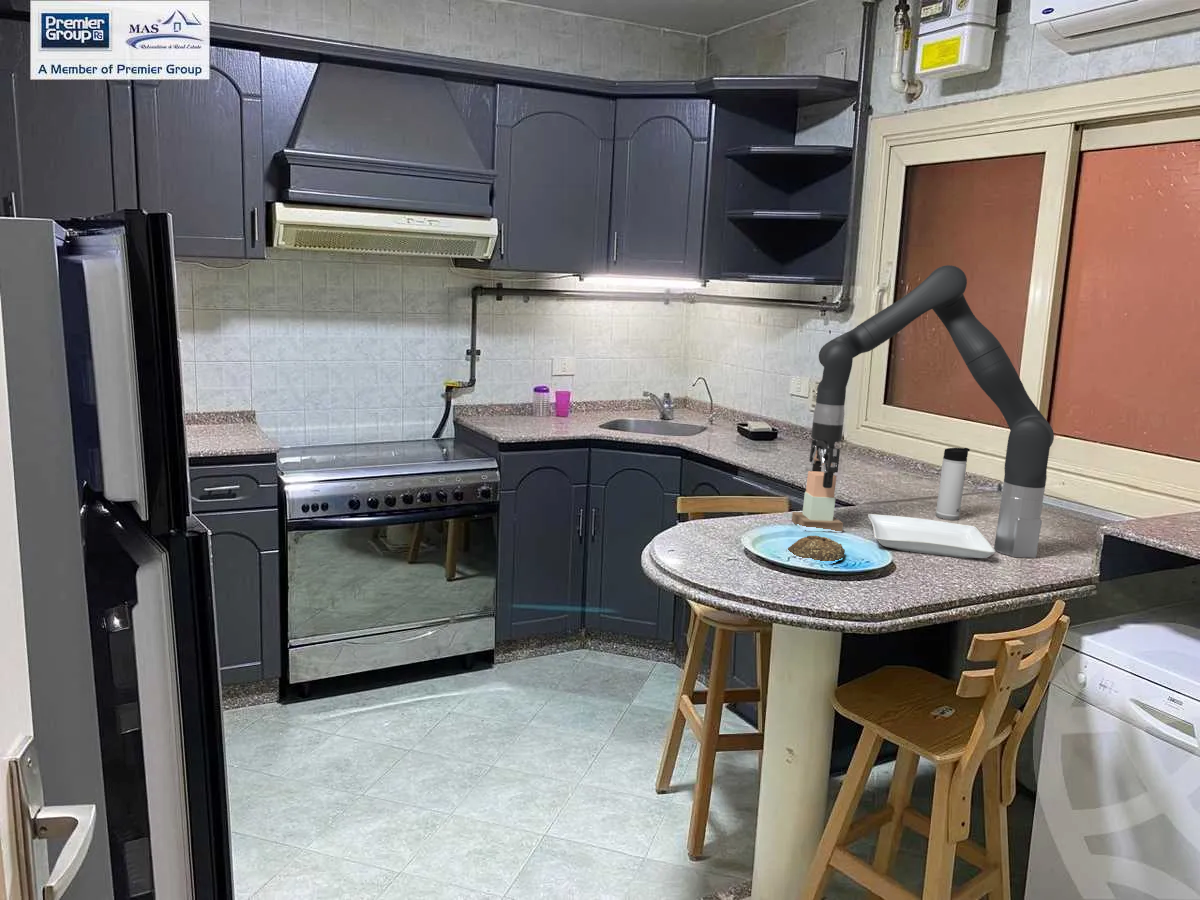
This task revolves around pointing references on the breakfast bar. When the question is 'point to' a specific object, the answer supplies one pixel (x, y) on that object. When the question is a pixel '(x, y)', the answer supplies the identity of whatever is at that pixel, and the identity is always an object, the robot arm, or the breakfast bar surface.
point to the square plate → (930, 536)
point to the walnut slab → (816, 522)
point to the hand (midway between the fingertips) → (821, 484)
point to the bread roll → (817, 548)
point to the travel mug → (951, 483)
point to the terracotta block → (819, 485)
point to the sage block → (818, 507)
